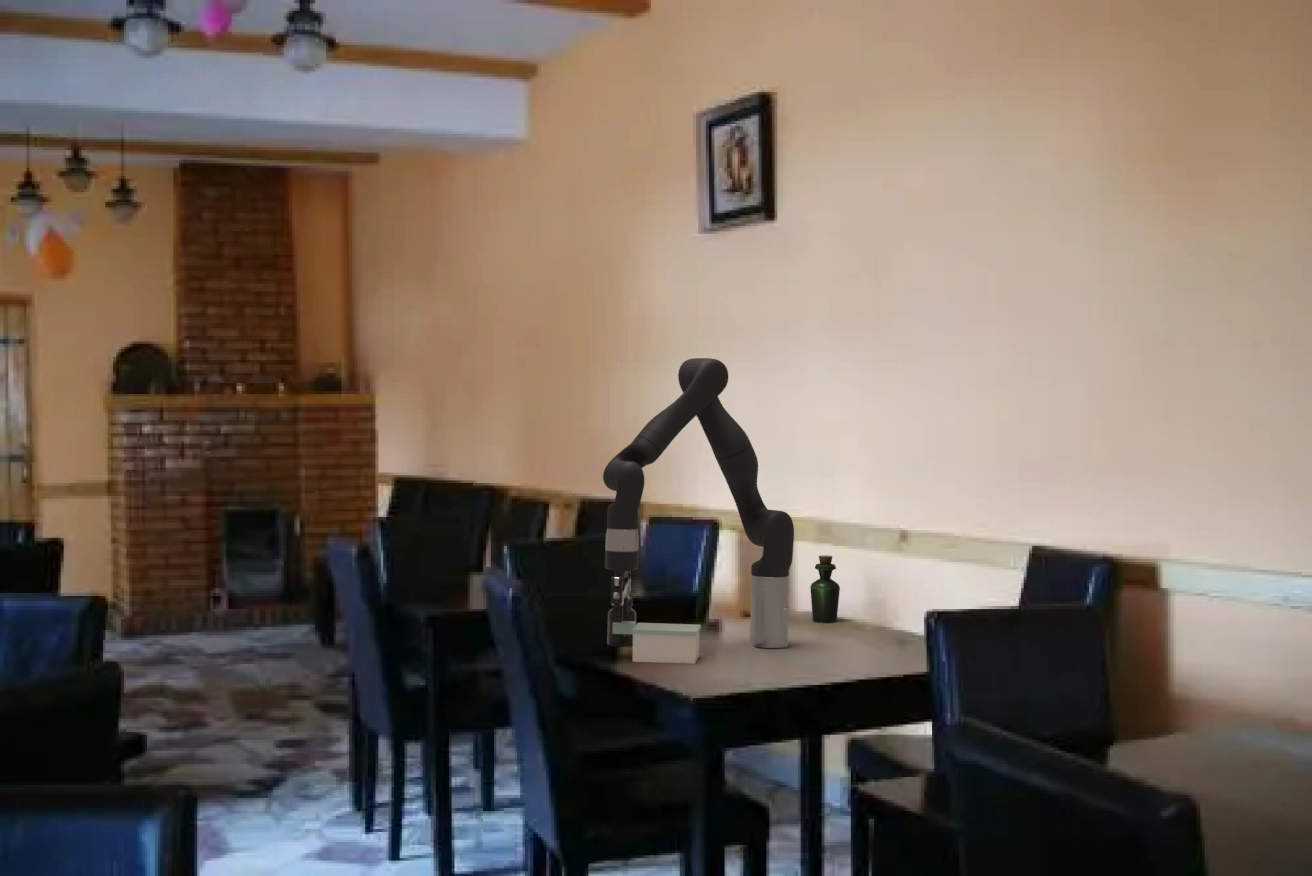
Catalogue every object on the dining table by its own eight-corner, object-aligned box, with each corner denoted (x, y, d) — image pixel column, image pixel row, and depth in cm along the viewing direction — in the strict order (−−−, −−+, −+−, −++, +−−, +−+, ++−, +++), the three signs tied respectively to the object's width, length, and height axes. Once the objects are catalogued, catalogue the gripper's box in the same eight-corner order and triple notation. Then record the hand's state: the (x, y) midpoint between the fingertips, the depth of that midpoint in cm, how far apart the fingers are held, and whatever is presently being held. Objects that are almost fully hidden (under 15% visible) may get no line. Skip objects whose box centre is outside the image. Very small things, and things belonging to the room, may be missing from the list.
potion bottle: (826, 618, 387) (827, 554, 387) (845, 622, 380) (846, 556, 380) (803, 620, 382) (804, 555, 382) (822, 624, 376) (823, 558, 375)
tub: (699, 659, 318) (699, 629, 318) (694, 667, 308) (695, 635, 308) (638, 657, 320) (639, 627, 320) (632, 664, 310) (632, 633, 310)
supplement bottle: (632, 650, 329) (632, 600, 329) (604, 649, 331) (604, 599, 330) (638, 645, 336) (639, 596, 336) (611, 644, 337) (611, 595, 337)
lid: (700, 633, 318) (700, 621, 318) (696, 640, 308) (696, 628, 307) (617, 630, 320) (617, 618, 320) (610, 637, 310) (610, 625, 310)
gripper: (633, 551, 307) (632, 624, 307) (642, 546, 321) (640, 616, 321) (600, 550, 308) (598, 623, 308) (610, 545, 322) (609, 615, 322)
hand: (620, 619), depth 315 cm, fingers open, 8 cm apart
